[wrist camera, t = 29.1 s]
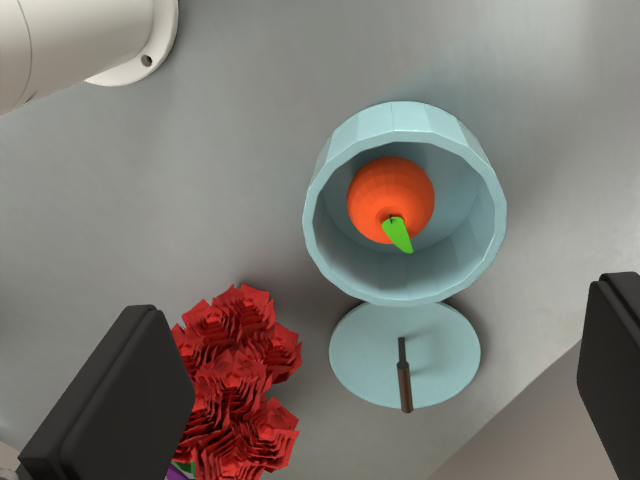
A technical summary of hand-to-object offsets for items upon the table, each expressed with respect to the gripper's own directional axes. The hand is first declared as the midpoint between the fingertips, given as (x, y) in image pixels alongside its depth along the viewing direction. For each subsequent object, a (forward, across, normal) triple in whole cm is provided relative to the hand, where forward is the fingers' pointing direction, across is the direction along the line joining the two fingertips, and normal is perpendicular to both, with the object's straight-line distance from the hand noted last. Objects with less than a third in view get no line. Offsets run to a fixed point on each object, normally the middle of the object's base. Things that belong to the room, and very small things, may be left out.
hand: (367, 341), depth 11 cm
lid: (+30, 0, +29) cm, 41 cm away
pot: (+30, -1, +10) cm, 32 cm away
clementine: (+30, 0, +10) cm, 32 cm away
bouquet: (+31, +20, +33) cm, 49 cm away
